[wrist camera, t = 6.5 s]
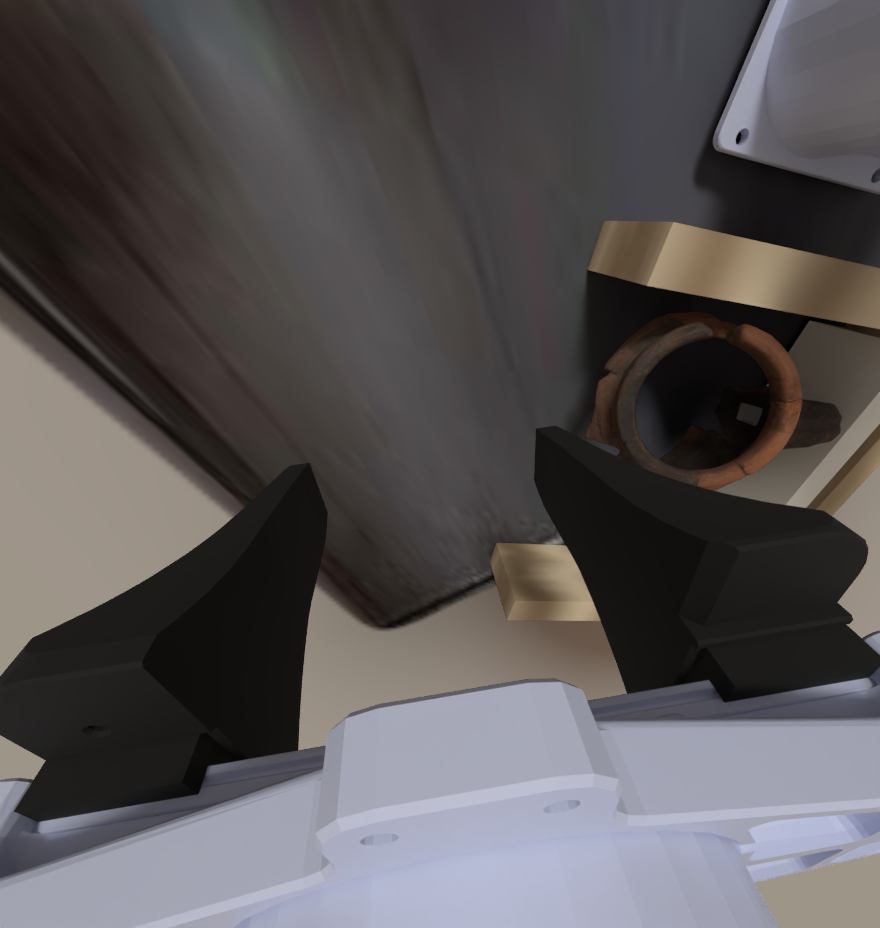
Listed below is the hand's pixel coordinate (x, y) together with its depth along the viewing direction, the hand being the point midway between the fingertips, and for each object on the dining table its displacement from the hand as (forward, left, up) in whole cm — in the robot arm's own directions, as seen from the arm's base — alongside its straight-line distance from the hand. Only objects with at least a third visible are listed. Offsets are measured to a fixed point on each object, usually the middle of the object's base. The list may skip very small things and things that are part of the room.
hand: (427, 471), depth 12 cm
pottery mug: (-16, +1, -10) cm, 19 cm away
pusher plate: (-20, +3, -9) cm, 23 cm away
